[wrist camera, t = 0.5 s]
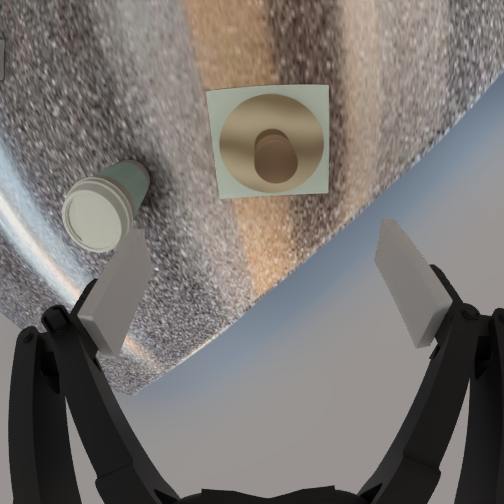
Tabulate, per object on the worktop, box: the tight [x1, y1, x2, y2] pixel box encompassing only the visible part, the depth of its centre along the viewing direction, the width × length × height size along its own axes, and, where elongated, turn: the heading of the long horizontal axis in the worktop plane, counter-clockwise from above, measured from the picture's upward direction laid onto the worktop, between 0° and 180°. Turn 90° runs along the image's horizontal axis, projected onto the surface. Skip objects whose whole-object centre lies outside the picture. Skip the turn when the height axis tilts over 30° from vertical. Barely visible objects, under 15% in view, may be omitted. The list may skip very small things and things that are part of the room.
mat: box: [206, 84, 329, 199], centre depth 33 cm, size 14×14×1 cm
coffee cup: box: [62, 159, 150, 253], centre depth 31 cm, size 8×8×12 cm
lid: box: [219, 94, 324, 193], centre depth 29 cm, size 12×12×8 cm
